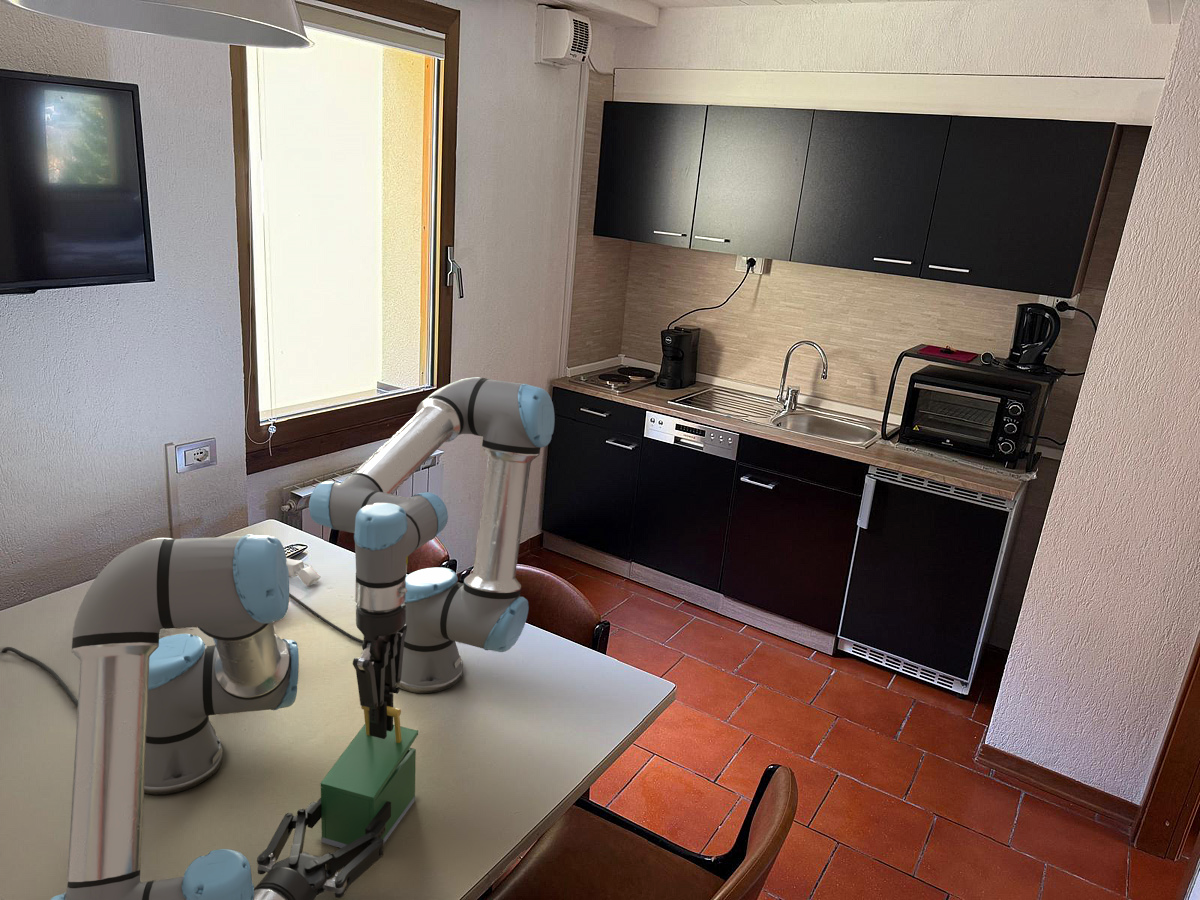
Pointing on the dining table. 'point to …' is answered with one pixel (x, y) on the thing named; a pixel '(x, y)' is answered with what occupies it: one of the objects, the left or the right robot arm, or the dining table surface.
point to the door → (370, 759)
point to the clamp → (302, 571)
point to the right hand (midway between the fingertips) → (381, 731)
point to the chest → (367, 806)
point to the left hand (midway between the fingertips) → (360, 801)
